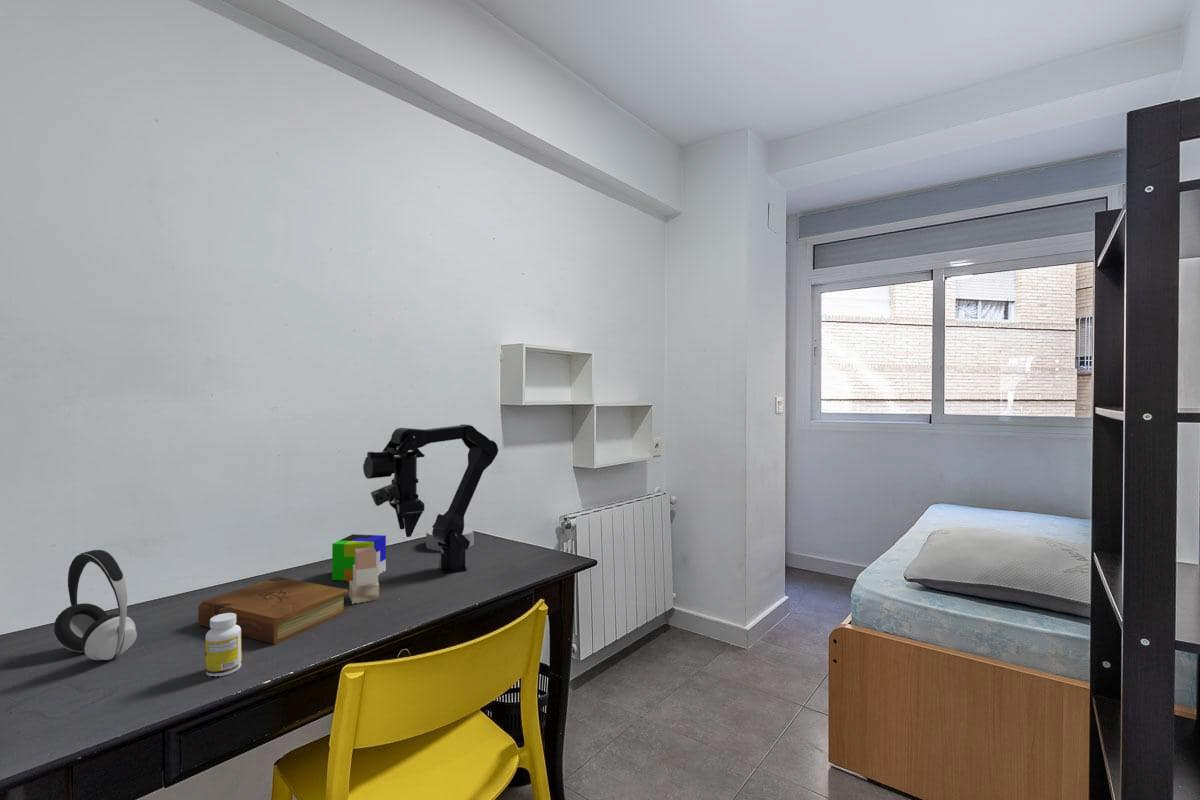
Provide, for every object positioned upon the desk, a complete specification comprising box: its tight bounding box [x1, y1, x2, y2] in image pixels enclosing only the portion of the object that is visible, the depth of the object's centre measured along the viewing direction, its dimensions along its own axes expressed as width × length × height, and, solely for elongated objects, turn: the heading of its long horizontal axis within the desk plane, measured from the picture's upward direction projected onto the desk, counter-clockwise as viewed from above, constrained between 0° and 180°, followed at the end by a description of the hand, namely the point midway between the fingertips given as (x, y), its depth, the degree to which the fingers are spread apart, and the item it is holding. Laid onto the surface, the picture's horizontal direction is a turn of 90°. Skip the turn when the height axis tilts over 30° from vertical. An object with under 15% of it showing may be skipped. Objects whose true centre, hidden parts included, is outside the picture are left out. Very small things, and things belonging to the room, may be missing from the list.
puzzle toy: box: [331, 533, 387, 582], centre depth 155 cm, size 10×10×10 cm
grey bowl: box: [425, 525, 475, 552], centre depth 186 cm, size 15×15×5 cm
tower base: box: [348, 581, 380, 605], centre depth 138 cm, size 6×6×4 cm
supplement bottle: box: [204, 613, 243, 678], centre depth 102 cm, size 5×5×10 cm
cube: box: [355, 547, 376, 570], centre depth 138 cm, size 4×4×4 cm
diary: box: [198, 576, 349, 645], centre depth 125 cm, size 23×19×6 cm
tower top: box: [353, 565, 379, 587], centre depth 138 cm, size 5×5×4 cm
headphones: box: [53, 549, 138, 661], centre depth 107 cm, size 19×8×20 cm, turn 65°
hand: (405, 532), depth 150 cm, fingers open, 9 cm apart
